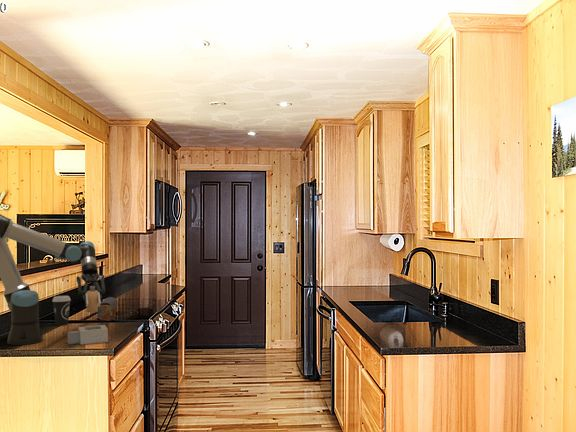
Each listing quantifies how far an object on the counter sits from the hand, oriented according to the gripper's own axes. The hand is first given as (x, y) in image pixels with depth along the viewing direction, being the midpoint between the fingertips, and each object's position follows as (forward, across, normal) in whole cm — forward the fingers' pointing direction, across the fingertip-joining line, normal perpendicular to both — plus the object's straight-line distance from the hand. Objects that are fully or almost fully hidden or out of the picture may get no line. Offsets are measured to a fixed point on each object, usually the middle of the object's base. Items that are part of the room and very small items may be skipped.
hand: (93, 304), depth 269 cm
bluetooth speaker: (-31, -16, -55) cm, 65 cm away
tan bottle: (0, 0, -5) cm, 5 cm away
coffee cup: (-20, +11, -44) cm, 49 cm away
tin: (-20, -13, -44) cm, 50 cm away
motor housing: (+17, +4, -6) cm, 18 cm away
